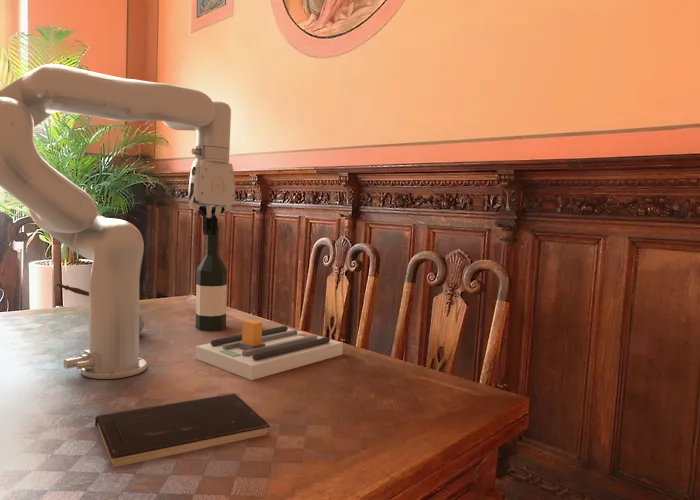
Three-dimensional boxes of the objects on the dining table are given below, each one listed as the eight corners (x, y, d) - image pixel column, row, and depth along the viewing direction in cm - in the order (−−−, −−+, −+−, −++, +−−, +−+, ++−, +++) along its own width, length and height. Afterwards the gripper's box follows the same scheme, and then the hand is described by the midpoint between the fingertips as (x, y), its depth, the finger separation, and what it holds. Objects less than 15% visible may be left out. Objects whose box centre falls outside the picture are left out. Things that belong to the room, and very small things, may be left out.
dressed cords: (255, 361, 112) (255, 355, 112) (209, 345, 123) (209, 339, 123) (331, 342, 130) (331, 337, 130) (285, 330, 141) (285, 325, 141)
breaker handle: (251, 351, 119) (252, 324, 118) (237, 346, 122) (238, 320, 121) (265, 348, 122) (266, 322, 121) (251, 343, 125) (252, 318, 124)
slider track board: (251, 380, 110) (252, 361, 109) (195, 358, 123) (196, 341, 122) (342, 354, 131) (343, 338, 131) (286, 338, 144) (287, 324, 143)
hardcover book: (269, 438, 84) (269, 424, 84) (111, 473, 72) (111, 456, 72) (233, 404, 98) (234, 392, 98) (95, 428, 86) (95, 414, 85)
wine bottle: (232, 327, 154) (234, 223, 151) (210, 332, 147) (212, 223, 144) (211, 323, 158) (213, 221, 156) (189, 327, 151) (190, 221, 149)
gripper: (192, 151, 117) (189, 235, 118) (248, 159, 128) (245, 236, 129) (174, 152, 122) (172, 233, 123) (230, 160, 133) (227, 234, 134)
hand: (209, 234), depth 126 cm, fingers closed
